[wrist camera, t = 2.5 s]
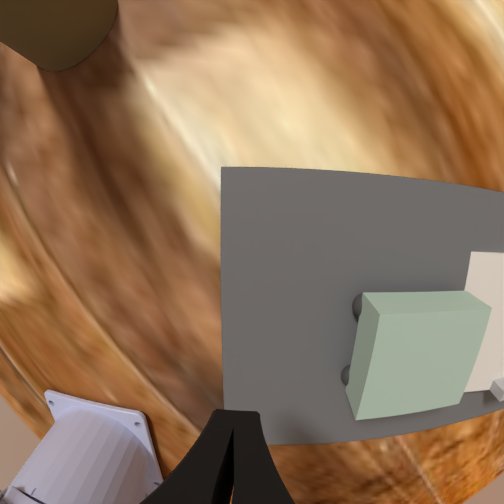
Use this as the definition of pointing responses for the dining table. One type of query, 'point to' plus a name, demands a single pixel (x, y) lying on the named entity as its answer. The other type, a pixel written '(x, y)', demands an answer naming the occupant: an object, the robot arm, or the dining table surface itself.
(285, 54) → the dining table surface
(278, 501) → the robot arm
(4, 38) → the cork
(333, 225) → the dock
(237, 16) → the dining table surface
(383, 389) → the cart
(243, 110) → the dining table surface
